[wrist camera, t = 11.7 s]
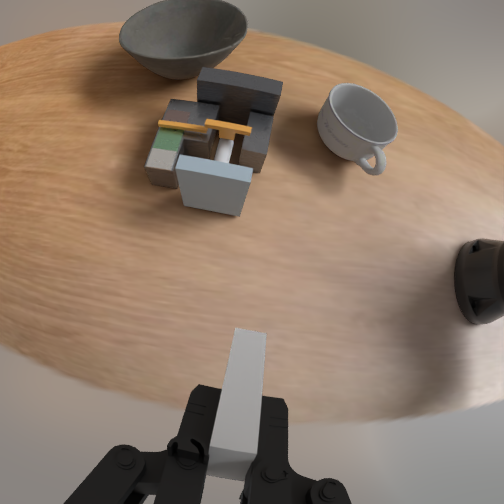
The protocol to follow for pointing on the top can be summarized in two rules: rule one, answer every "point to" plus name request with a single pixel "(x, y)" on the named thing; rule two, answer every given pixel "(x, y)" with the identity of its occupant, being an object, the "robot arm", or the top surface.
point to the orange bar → (224, 128)
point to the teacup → (357, 125)
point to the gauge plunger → (214, 181)
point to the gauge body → (216, 108)
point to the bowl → (183, 36)
